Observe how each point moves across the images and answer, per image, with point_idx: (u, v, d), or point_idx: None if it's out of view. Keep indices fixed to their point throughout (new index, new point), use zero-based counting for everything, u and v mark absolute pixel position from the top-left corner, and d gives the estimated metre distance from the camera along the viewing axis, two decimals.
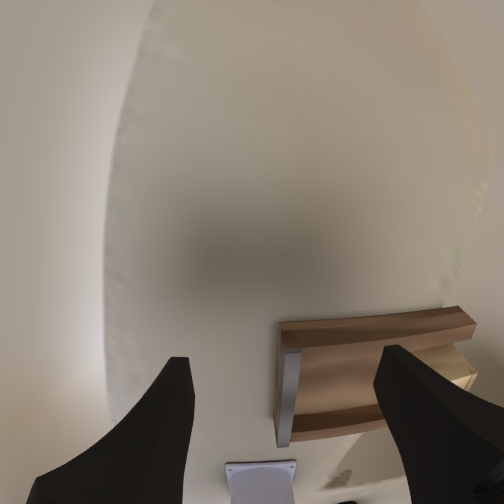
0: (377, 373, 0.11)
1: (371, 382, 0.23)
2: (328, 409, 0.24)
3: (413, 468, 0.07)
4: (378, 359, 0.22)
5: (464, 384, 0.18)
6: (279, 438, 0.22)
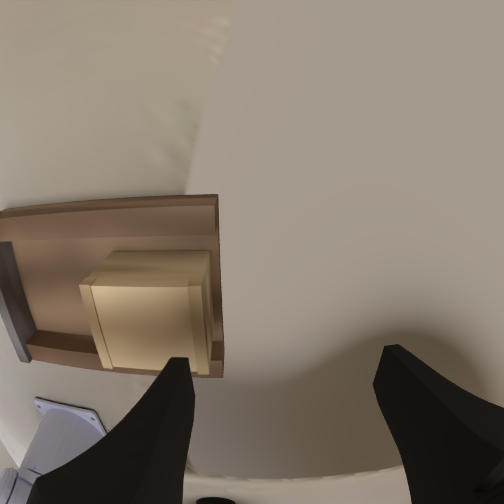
0: (377, 373, 0.11)
1: None
2: (72, 330, 0.19)
3: (413, 468, 0.07)
4: (95, 260, 0.18)
5: (181, 306, 0.14)
6: (14, 346, 0.17)
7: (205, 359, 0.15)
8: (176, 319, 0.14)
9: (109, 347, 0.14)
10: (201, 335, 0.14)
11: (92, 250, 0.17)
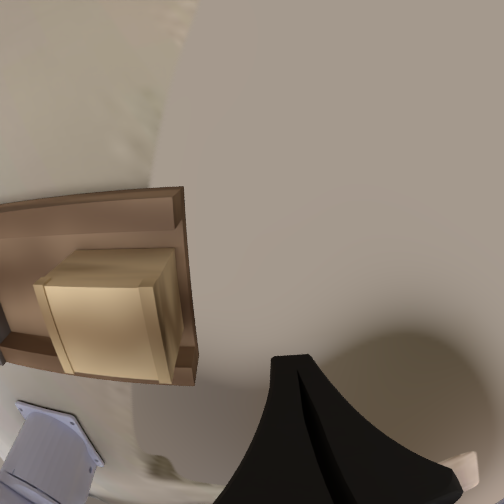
0: None
1: None
2: (43, 332, 0.18)
3: None
4: (60, 260, 0.16)
5: (134, 308, 0.12)
6: None
7: (165, 367, 0.13)
8: (130, 323, 0.12)
9: (68, 351, 0.13)
10: (158, 341, 0.12)
11: (57, 249, 0.16)
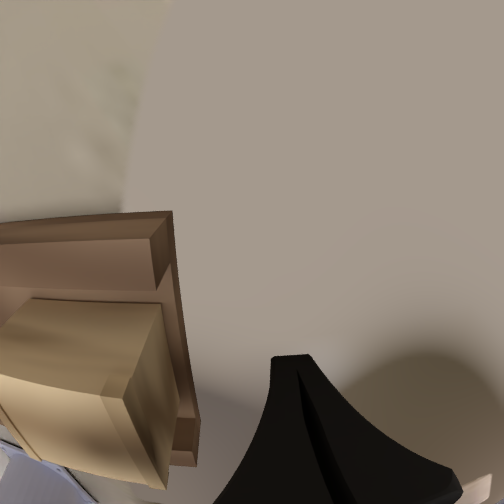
0: None
1: None
2: None
3: None
4: (14, 308, 0.10)
5: (100, 418, 0.06)
6: None
7: (156, 477, 0.08)
8: (99, 432, 0.07)
9: (28, 441, 0.07)
10: (142, 454, 0.07)
11: (9, 294, 0.10)
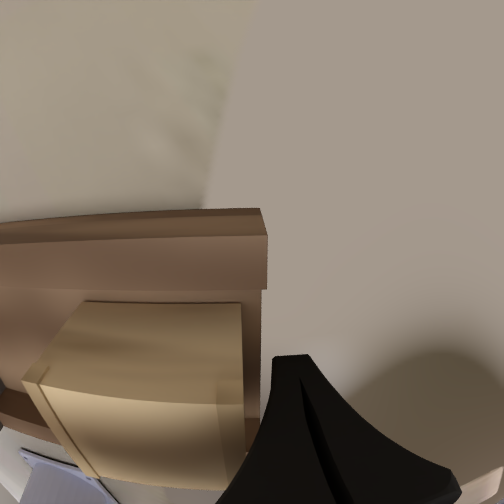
0: None
1: None
2: None
3: None
4: (64, 312, 0.11)
5: (205, 428, 0.07)
6: None
7: None
8: (195, 443, 0.07)
9: (89, 459, 0.07)
10: (239, 460, 0.07)
11: (58, 297, 0.10)
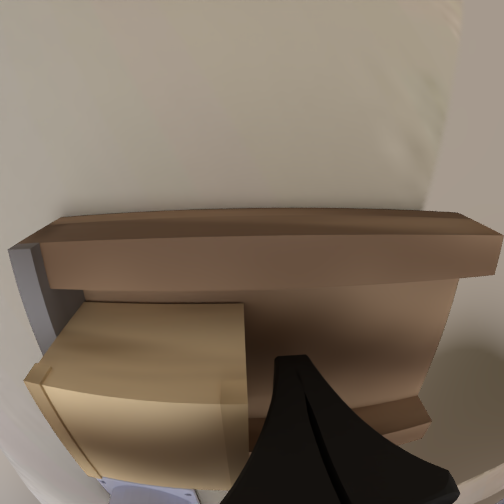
0: None
1: (273, 369, 0.12)
2: None
3: None
4: (275, 315, 0.11)
5: (208, 428, 0.07)
6: None
7: None
8: (199, 442, 0.07)
9: (91, 459, 0.07)
10: (242, 459, 0.07)
11: (275, 299, 0.11)
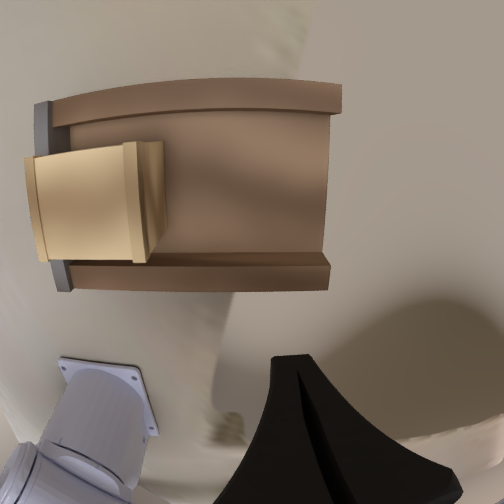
0: None
1: (186, 198, 0.17)
2: None
3: None
4: (184, 151, 0.16)
5: (116, 168, 0.12)
6: (53, 268, 0.15)
7: (140, 239, 0.13)
8: (111, 186, 0.12)
9: (45, 232, 0.12)
10: (136, 205, 0.12)
11: (183, 139, 0.16)
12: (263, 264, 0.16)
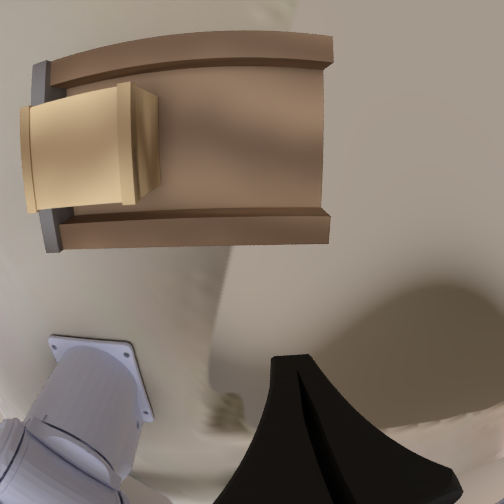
0: None
1: (180, 153, 0.16)
2: (125, 206, 0.17)
3: None
4: (178, 105, 0.15)
5: (109, 108, 0.11)
6: (42, 227, 0.15)
7: (130, 179, 0.12)
8: (103, 127, 0.11)
9: (35, 181, 0.12)
10: (127, 144, 0.11)
11: (178, 94, 0.15)
12: (259, 215, 0.16)
